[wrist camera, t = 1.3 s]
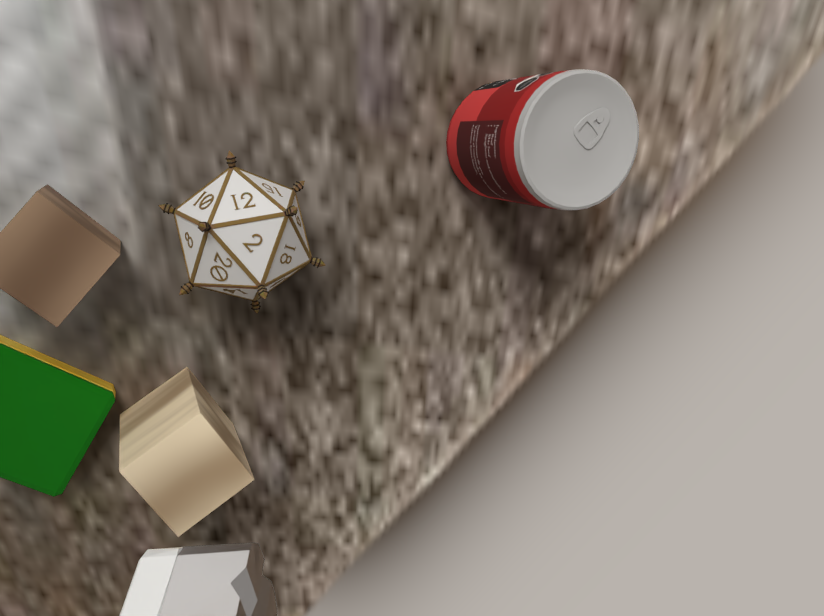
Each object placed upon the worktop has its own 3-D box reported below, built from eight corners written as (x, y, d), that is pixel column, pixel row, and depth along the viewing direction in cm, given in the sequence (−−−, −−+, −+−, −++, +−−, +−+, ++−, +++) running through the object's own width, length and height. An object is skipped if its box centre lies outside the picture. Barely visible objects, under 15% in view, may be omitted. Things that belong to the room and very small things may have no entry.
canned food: (562, 116, 55) (662, 112, 45) (510, 217, 55) (597, 235, 45) (478, 58, 52) (564, 39, 41) (422, 164, 52) (495, 171, 42)
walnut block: (-12, 250, 44) (-31, 267, 38) (47, 184, 44) (36, 191, 39) (64, 304, 46) (57, 327, 40) (120, 240, 46) (120, 254, 41)
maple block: (119, 414, 48) (119, 471, 40) (187, 366, 49) (200, 412, 41) (169, 471, 50) (178, 536, 42) (233, 424, 51) (254, 479, 43)
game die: (244, 247, 52) (282, 362, 47) (125, 210, 47) (152, 337, 41) (320, 150, 49) (372, 263, 43) (201, 97, 43) (242, 220, 37)
